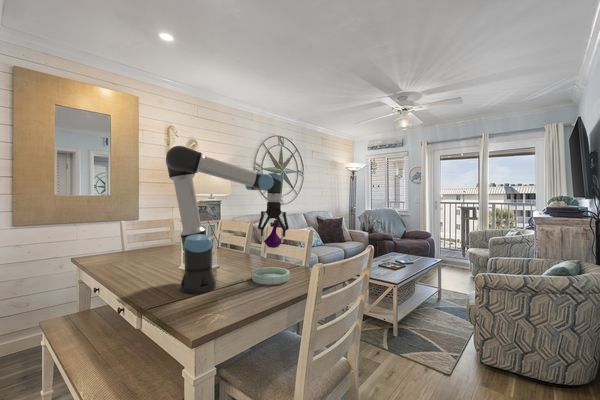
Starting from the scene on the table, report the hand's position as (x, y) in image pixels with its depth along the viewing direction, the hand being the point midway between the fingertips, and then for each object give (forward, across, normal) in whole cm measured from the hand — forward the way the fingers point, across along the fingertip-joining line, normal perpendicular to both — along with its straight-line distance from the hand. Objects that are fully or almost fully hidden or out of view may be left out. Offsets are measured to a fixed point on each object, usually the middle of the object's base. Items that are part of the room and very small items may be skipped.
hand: (272, 242), depth 159 cm
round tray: (+16, +2, -14) cm, 21 cm away
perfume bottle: (+3, 0, +1) cm, 3 cm away
